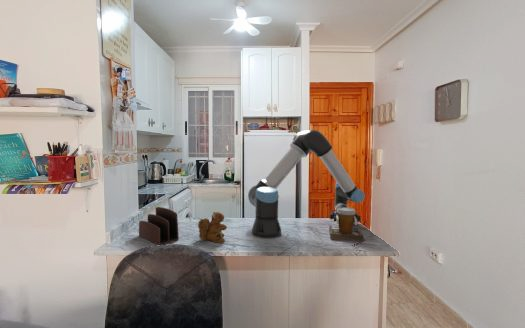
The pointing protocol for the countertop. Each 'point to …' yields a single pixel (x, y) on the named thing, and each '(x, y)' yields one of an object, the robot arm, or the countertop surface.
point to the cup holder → (346, 235)
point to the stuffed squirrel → (212, 228)
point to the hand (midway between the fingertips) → (346, 221)
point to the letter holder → (160, 227)
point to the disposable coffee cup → (345, 219)
